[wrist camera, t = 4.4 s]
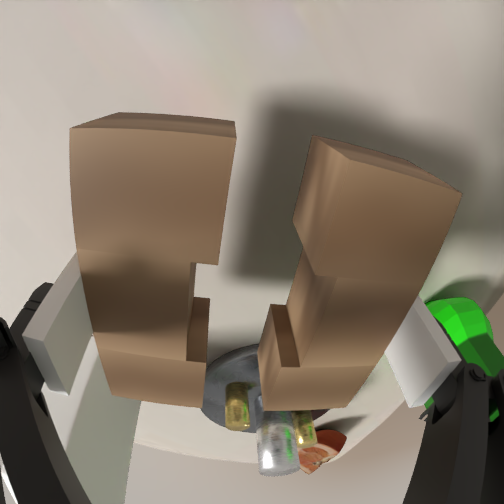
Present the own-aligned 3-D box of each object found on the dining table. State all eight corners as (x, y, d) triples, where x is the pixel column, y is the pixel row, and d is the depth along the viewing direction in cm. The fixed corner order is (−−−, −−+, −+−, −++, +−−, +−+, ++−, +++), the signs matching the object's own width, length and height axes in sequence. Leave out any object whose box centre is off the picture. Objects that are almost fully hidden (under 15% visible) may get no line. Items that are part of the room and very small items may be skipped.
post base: (202, 335, 24) (195, 433, 16) (360, 344, 25) (393, 425, 18) (196, 418, 30) (193, 488, 22) (313, 421, 32) (327, 485, 24)
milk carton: (145, 381, 27) (119, 564, 10) (93, 386, 27) (55, 542, 11) (107, 331, 23) (46, 544, 7) (54, 341, 24) (-11, 512, 7)
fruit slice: (321, 446, 37) (328, 474, 32) (279, 446, 35) (283, 476, 31) (351, 418, 33) (361, 450, 29) (305, 418, 32) (313, 453, 27)
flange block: (118, 112, 10) (69, 128, 6) (406, 160, 12) (462, 193, 8) (127, 338, 16) (111, 395, 12) (329, 353, 18) (345, 407, 14)
